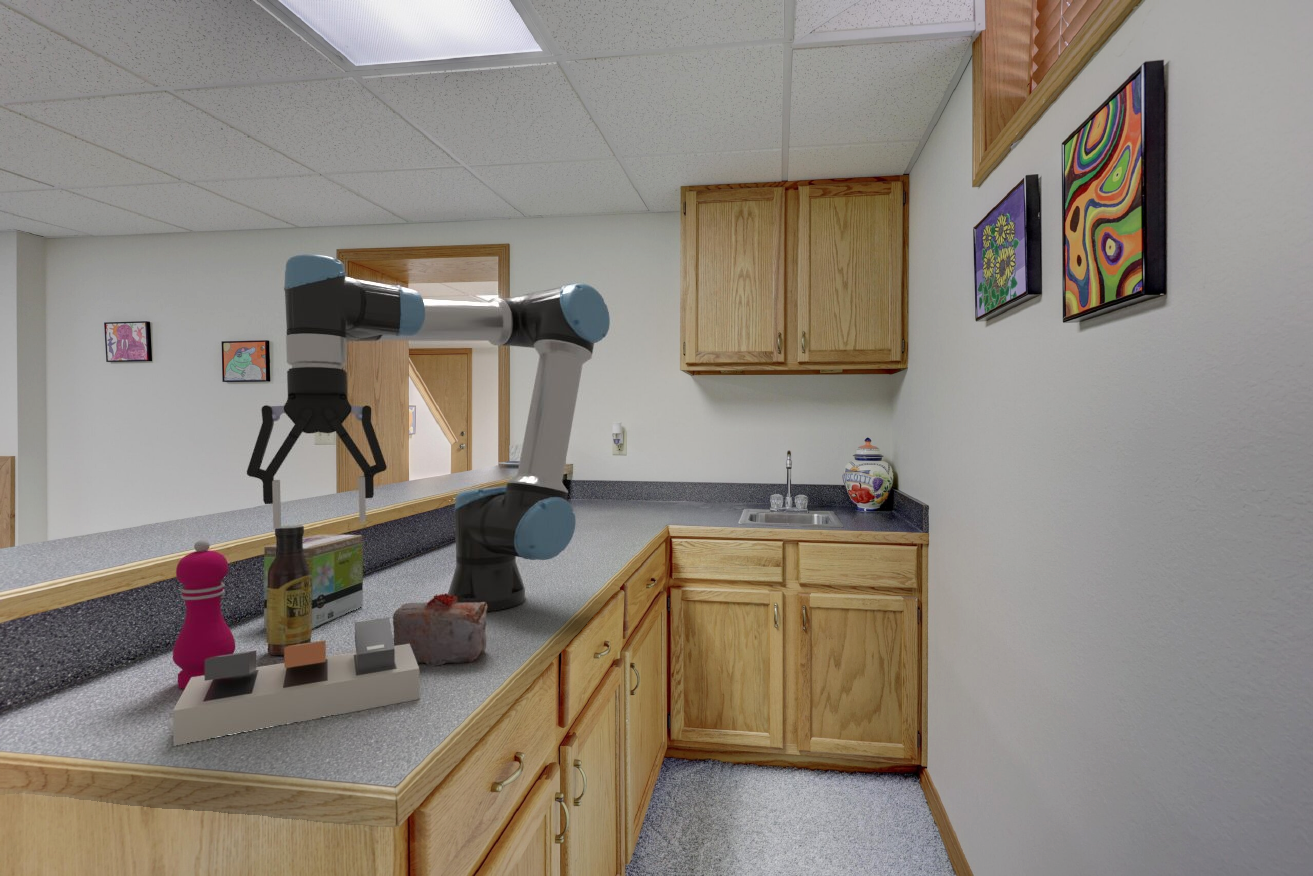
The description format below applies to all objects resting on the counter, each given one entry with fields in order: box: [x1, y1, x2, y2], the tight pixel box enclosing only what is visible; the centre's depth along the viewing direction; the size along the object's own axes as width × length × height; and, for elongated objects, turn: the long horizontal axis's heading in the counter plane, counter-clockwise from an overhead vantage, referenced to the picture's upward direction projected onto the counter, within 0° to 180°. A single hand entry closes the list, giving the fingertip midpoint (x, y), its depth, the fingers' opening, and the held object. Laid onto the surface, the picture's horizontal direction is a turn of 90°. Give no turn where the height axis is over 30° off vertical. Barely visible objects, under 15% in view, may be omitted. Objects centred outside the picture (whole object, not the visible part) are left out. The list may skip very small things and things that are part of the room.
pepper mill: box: [172, 539, 236, 691], centre depth 91 cm, size 7×7×20 cm
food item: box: [392, 593, 488, 667], centre depth 99 cm, size 14×8×10 cm, turn 93°
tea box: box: [263, 533, 364, 630], centre depth 121 cm, size 15×10×15 cm, turn 171°
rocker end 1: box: [205, 650, 257, 681], centre depth 79 cm, size 4×8×2 cm, turn 27°
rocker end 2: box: [354, 617, 395, 671], centre depth 86 cm, size 4×8×2 cm, turn 27°
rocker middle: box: [283, 640, 327, 668], centre depth 83 cm, size 4×8×2 cm, turn 27°
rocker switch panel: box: [172, 644, 421, 747], centre depth 83 cm, size 26×11×4 cm, turn 117°
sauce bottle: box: [266, 524, 313, 656], centre depth 103 cm, size 7×6×20 cm
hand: (321, 524), depth 92 cm, fingers open, 10 cm apart
